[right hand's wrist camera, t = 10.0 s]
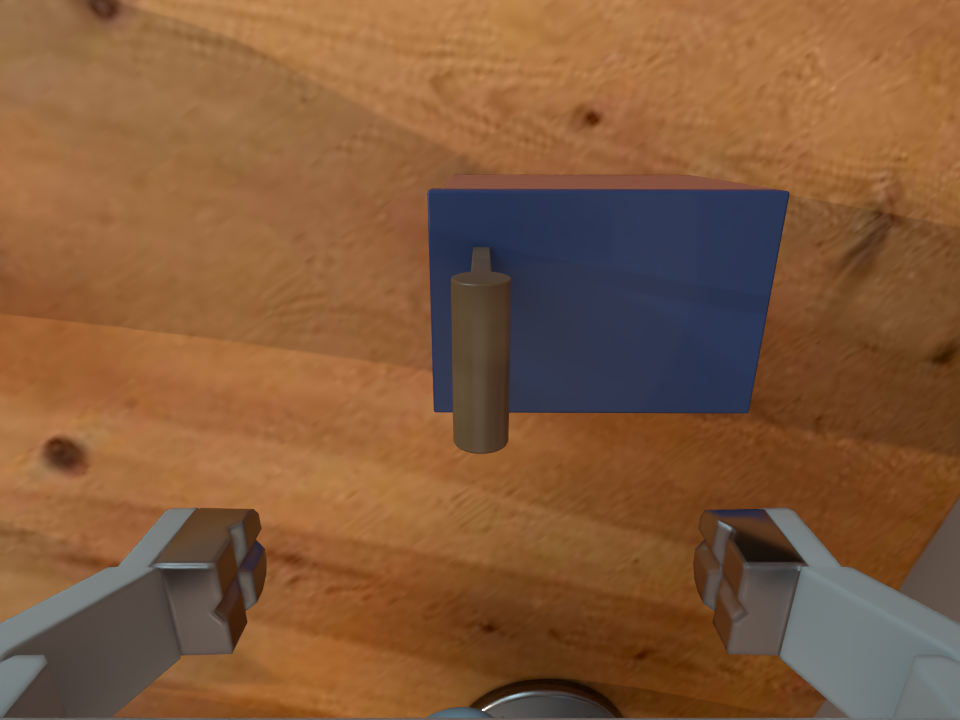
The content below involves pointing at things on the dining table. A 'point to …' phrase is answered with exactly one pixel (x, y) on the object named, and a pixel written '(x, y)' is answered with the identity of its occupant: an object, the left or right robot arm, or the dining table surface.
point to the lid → (597, 301)
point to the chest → (590, 182)
